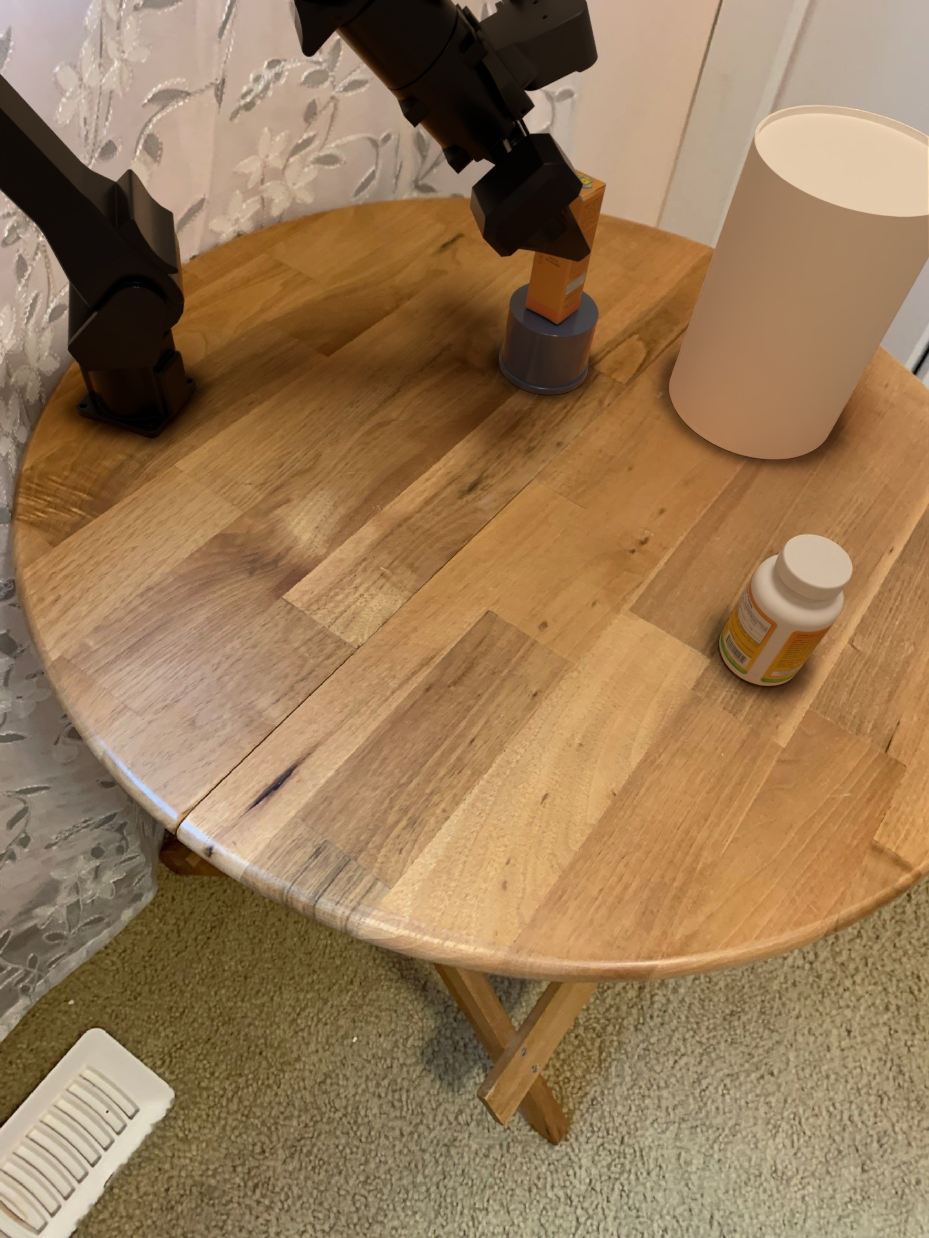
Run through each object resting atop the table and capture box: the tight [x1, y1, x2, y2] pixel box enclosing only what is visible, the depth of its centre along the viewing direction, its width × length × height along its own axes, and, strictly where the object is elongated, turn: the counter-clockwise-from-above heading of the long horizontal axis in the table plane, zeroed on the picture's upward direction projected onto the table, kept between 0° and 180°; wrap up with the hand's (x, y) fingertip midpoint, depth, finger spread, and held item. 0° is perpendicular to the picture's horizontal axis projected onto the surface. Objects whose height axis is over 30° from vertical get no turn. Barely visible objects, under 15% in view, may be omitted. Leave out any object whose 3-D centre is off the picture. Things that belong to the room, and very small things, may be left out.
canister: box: [668, 104, 929, 460], centre depth 65 cm, size 14×14×20 cm
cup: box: [498, 282, 600, 396], centre depth 71 cm, size 8×7×6 cm
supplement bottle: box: [718, 533, 854, 687], centre depth 54 cm, size 5×5×10 cm
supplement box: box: [525, 168, 607, 324], centre depth 65 cm, size 3×3×10 cm
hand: (564, 218), depth 63 cm, fingers open, 9 cm apart
